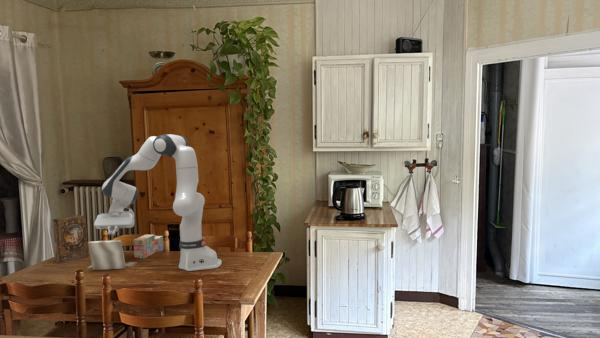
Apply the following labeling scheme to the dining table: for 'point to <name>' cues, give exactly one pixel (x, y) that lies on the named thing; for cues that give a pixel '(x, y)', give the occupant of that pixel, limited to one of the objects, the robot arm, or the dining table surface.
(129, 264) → the grey flat bar
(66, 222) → the book
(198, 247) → the robot arm
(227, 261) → the dining table surface
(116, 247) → the metal panel
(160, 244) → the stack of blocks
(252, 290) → the dining table surface
